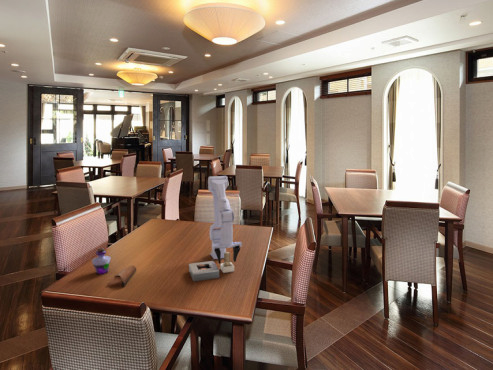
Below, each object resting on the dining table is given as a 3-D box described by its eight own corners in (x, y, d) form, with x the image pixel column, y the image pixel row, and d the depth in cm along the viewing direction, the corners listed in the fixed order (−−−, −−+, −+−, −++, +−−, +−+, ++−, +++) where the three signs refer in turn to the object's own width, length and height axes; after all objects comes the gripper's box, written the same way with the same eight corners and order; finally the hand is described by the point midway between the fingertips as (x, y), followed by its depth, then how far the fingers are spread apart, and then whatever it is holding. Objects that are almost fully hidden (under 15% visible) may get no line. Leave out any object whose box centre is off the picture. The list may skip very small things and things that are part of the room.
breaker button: (199, 271, 161) (199, 268, 161) (206, 270, 162) (206, 267, 162) (201, 274, 158) (201, 271, 158) (207, 273, 159) (207, 270, 159)
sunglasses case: (118, 271, 164) (125, 260, 163) (131, 278, 165) (138, 267, 164) (104, 288, 146) (112, 275, 146) (119, 295, 147) (126, 282, 146)
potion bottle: (105, 276, 158) (103, 252, 157) (88, 275, 160) (86, 250, 159) (115, 269, 167) (114, 246, 165) (100, 268, 169) (98, 245, 167)
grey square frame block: (189, 271, 164) (189, 263, 163) (213, 268, 167) (213, 260, 167) (193, 281, 152) (193, 273, 152) (219, 277, 156) (219, 269, 156)
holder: (220, 268, 167) (220, 263, 167) (231, 267, 169) (231, 262, 169) (223, 272, 162) (223, 267, 162) (234, 271, 164) (234, 266, 163)
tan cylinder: (223, 268, 166) (223, 252, 165) (229, 267, 167) (229, 251, 166) (225, 270, 164) (224, 254, 163) (230, 269, 164) (230, 253, 163)
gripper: (213, 238, 157) (214, 266, 159) (243, 235, 162) (243, 263, 163) (210, 234, 164) (211, 261, 166) (239, 232, 168) (239, 258, 170)
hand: (227, 262), depth 165 cm, fingers open, 7 cm apart
